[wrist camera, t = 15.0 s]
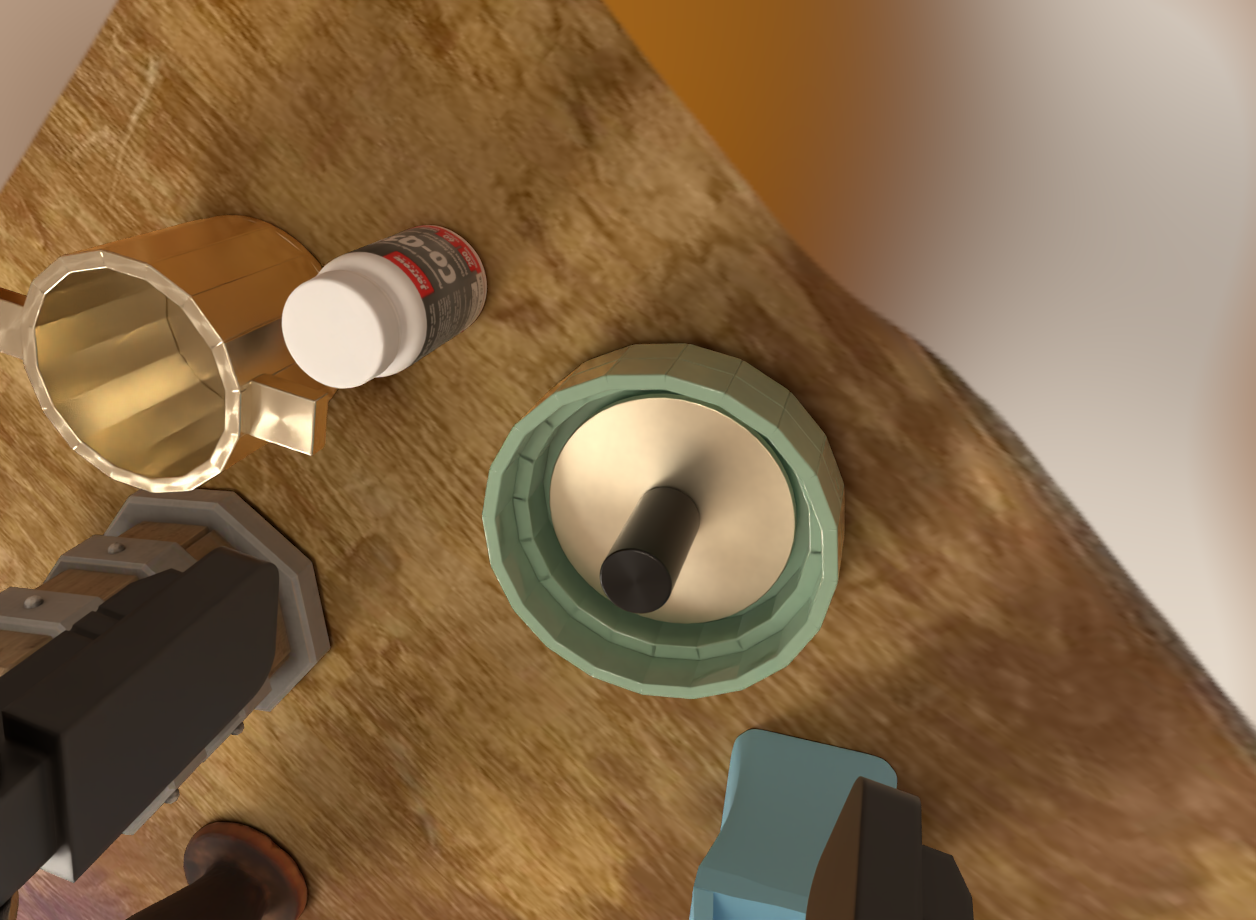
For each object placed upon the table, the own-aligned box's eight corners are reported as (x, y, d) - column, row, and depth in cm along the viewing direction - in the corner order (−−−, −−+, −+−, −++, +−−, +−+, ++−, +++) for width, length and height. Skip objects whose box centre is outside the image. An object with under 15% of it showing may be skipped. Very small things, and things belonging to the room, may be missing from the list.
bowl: (551, 298, 40) (511, 328, 36) (893, 398, 37) (890, 442, 34) (501, 579, 46) (462, 631, 42) (789, 679, 44) (777, 743, 40)
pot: (106, 173, 43) (-52, 202, 36) (414, 265, 41) (310, 314, 34) (115, 372, 47) (-25, 432, 40) (393, 464, 45) (297, 544, 38)
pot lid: (581, 356, 40) (523, 412, 34) (831, 432, 38) (816, 504, 32) (539, 566, 45) (482, 647, 39) (759, 641, 43) (735, 737, 37)
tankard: (300, 493, 47) (61, 673, 34) (345, 702, 52) (153, 929, 39) (-16, 471, 53) (-328, 619, 39) (52, 662, 58) (-204, 851, 44)
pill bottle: (501, 246, 39) (405, 296, 32) (476, 349, 41) (381, 418, 34) (397, 206, 40) (280, 246, 32) (378, 309, 42) (264, 369, 35)
